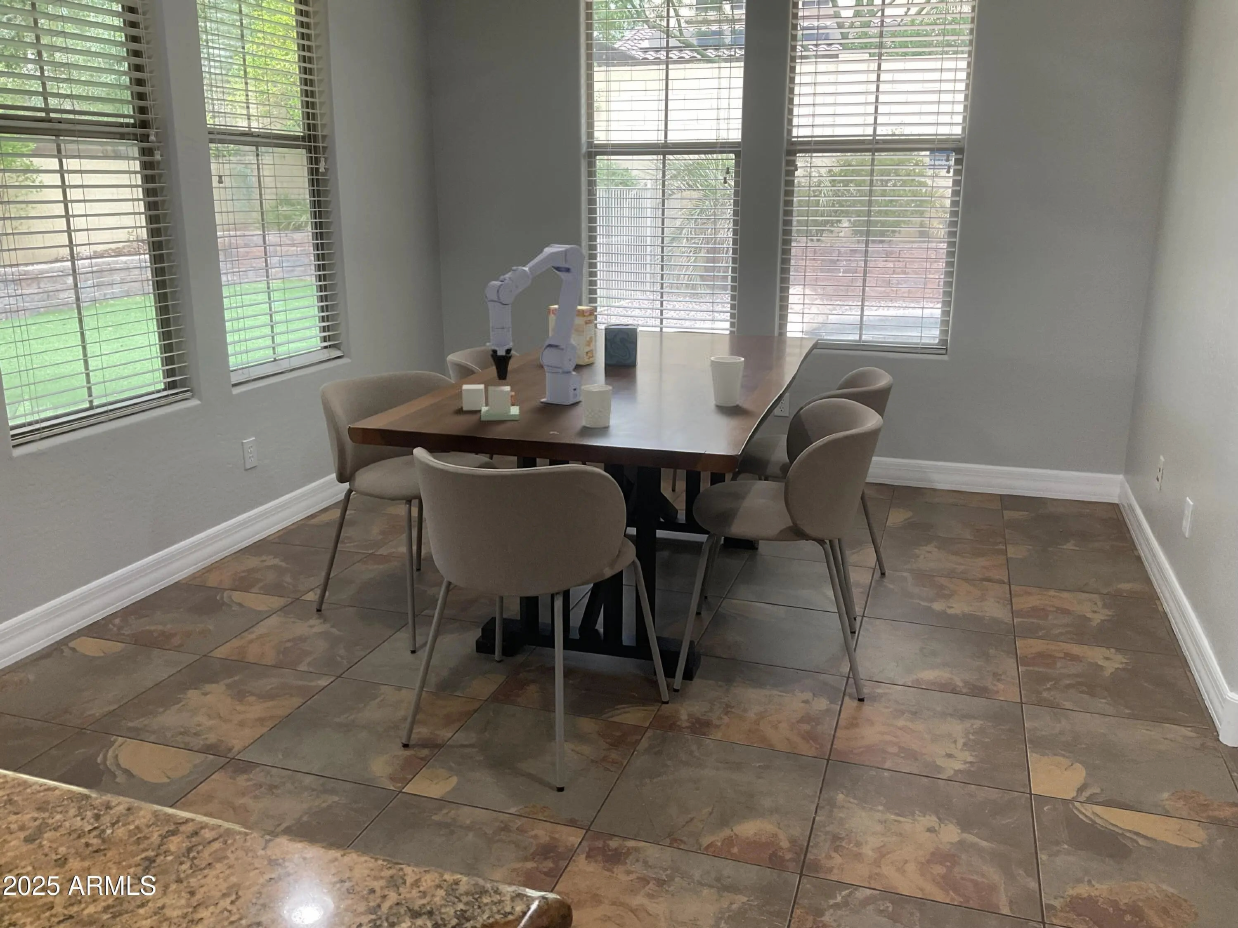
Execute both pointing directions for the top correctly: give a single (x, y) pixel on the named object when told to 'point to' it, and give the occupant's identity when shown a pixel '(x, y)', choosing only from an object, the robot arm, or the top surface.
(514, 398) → the orange brown block
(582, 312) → the coffeecake box
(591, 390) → the white cup
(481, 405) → the cover
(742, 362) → the foam cup
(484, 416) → the coaster
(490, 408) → the cream matte cube
